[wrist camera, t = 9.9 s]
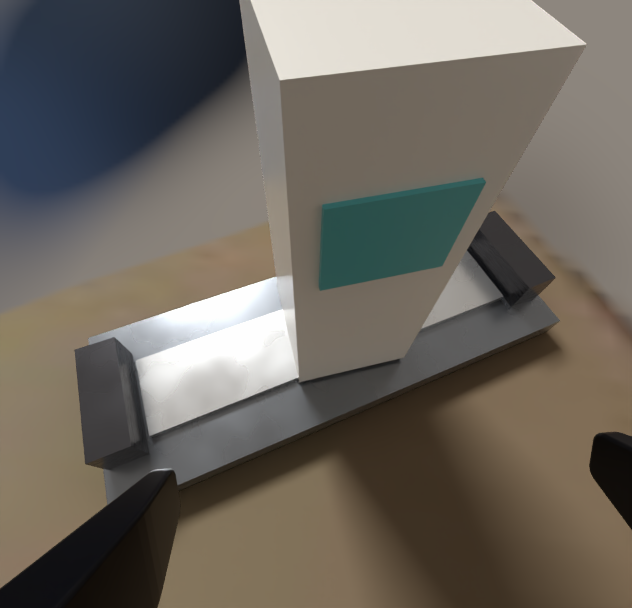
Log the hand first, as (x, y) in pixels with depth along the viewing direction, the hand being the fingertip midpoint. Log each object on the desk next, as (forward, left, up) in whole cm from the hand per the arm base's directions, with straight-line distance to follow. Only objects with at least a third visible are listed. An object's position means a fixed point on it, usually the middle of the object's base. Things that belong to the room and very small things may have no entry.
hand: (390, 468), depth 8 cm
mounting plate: (+7, -2, -9) cm, 11 cm away
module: (+7, -3, -7) cm, 11 cm away
